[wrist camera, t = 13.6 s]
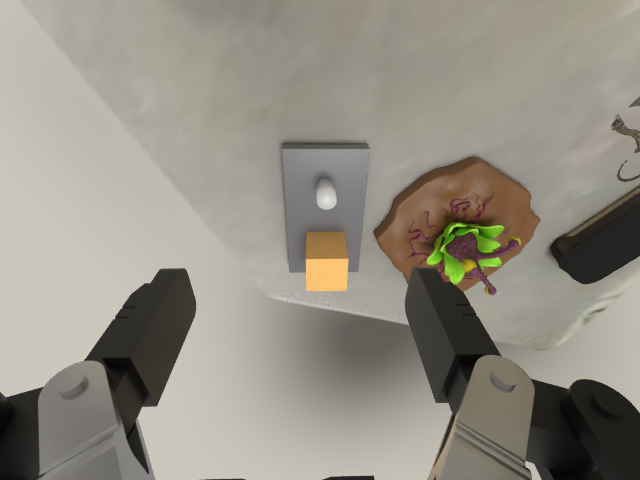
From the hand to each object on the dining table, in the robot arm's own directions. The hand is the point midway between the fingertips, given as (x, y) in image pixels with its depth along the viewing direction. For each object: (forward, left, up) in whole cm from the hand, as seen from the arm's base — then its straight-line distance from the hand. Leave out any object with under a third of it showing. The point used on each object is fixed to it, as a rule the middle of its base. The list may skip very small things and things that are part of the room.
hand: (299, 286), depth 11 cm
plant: (+15, +20, -29) cm, 38 cm away
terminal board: (+12, +2, -28) cm, 31 cm away
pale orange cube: (+17, +2, -26) cm, 31 cm away
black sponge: (+15, +43, -29) cm, 54 cm away
